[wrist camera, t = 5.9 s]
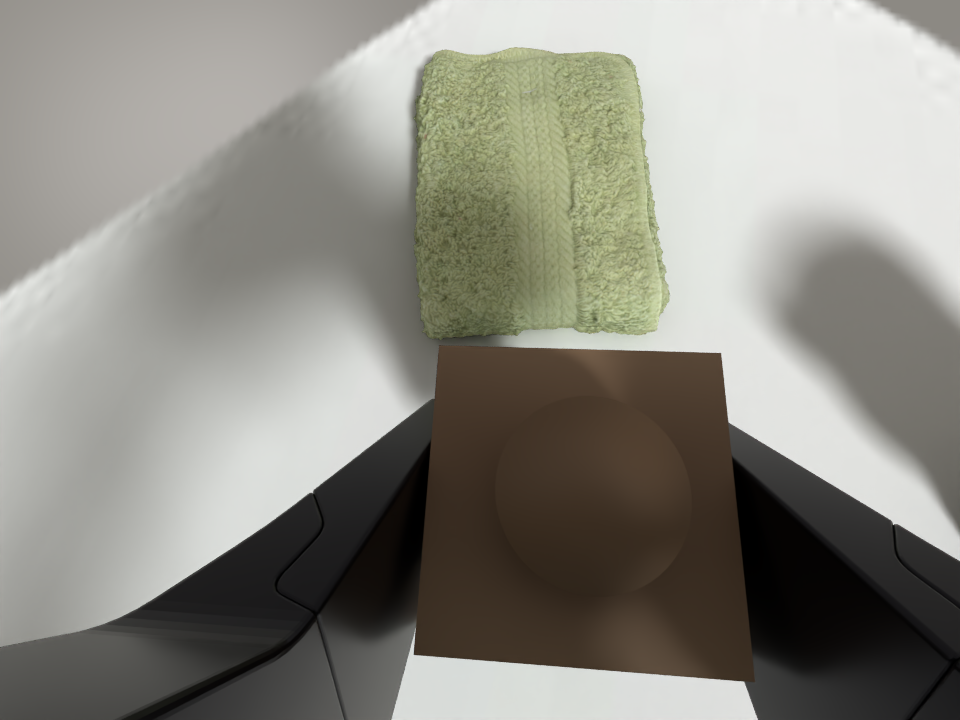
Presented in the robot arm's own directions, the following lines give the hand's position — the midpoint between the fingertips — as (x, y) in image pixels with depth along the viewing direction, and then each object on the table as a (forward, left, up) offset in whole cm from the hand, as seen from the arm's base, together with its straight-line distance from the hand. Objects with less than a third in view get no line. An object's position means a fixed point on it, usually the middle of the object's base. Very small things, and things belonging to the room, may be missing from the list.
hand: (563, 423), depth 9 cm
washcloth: (+13, +8, -14) cm, 21 cm away
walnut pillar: (-1, -1, -7) cm, 7 cm away
